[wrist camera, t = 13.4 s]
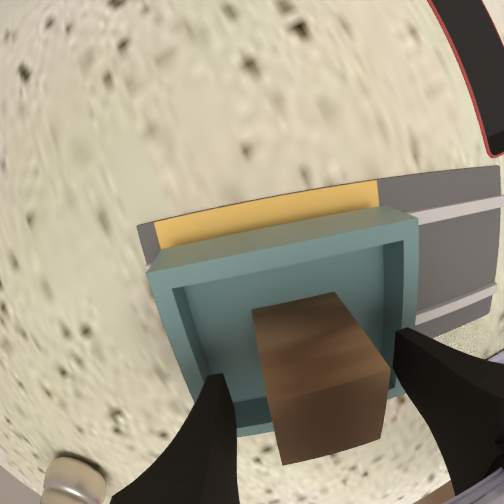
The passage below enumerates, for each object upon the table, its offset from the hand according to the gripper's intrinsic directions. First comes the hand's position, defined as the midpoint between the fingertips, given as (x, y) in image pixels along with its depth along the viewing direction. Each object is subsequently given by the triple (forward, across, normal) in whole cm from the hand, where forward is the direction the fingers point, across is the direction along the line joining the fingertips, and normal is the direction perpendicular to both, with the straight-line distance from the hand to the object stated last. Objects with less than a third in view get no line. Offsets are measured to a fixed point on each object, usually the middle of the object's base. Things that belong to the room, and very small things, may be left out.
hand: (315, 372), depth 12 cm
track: (+6, -5, 0) cm, 8 cm away
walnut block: (+3, 0, 0) cm, 3 cm away
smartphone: (+7, -18, -14) cm, 24 cm away
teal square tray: (+5, 0, 0) cm, 5 cm away
